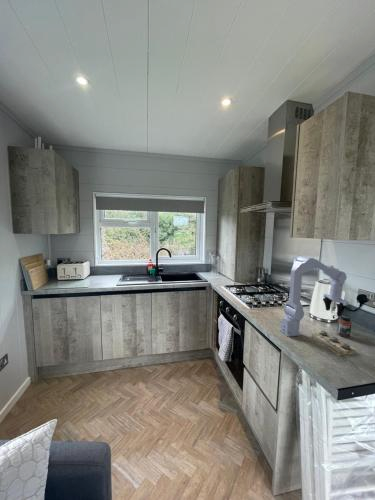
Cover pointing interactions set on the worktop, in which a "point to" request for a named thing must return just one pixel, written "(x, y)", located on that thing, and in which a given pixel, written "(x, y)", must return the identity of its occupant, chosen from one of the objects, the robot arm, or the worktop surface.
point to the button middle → (334, 339)
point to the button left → (323, 333)
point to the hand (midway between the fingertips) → (333, 312)
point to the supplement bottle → (344, 326)
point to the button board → (333, 344)
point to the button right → (346, 346)
